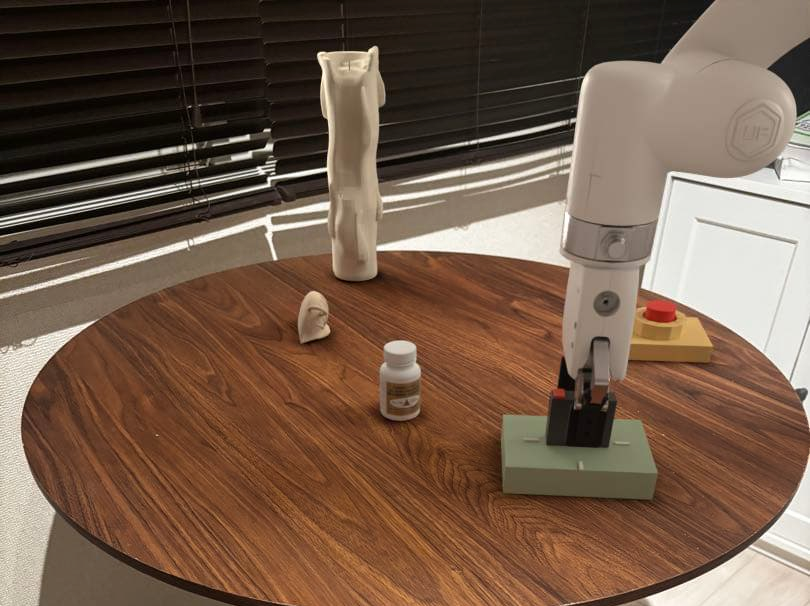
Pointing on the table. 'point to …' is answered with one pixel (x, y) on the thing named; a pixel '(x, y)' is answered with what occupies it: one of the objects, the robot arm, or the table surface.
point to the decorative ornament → (313, 317)
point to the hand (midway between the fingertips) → (577, 419)
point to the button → (660, 311)
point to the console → (576, 462)
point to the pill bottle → (400, 381)
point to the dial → (560, 415)
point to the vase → (353, 158)
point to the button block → (669, 339)
